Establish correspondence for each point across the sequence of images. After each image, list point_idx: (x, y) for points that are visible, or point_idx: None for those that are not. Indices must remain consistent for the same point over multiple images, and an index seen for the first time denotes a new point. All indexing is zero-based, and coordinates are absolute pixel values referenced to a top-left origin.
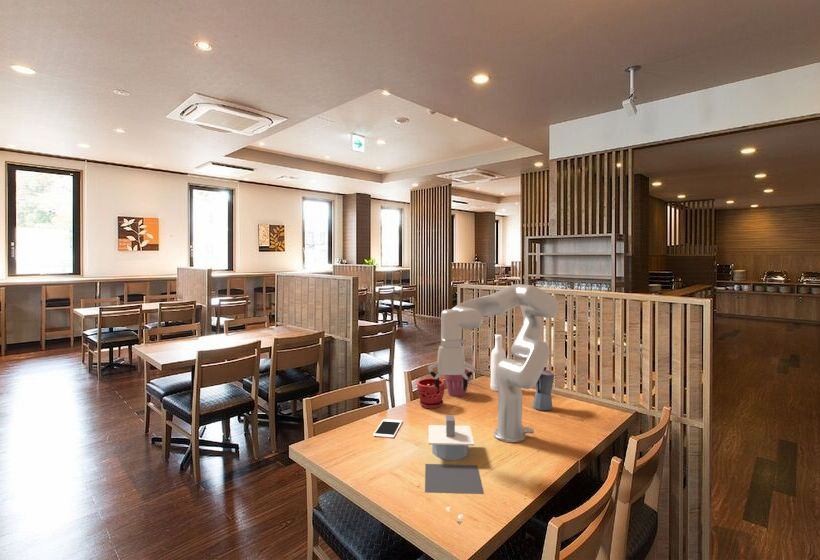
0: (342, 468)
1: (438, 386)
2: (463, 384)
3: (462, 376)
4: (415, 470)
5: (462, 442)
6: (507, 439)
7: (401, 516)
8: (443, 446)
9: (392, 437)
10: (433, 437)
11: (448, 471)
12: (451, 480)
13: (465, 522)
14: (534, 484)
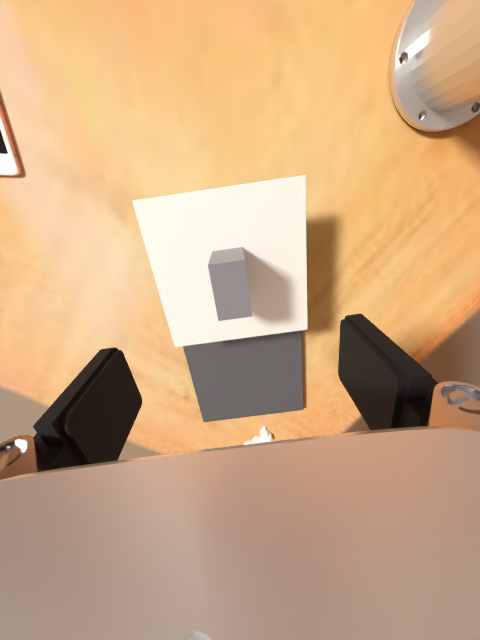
0: (8, 370)
1: (127, 427)
2: (359, 403)
3: None
4: (164, 350)
5: (273, 327)
6: (428, 127)
7: None
8: None
9: (15, 174)
10: (180, 310)
11: (236, 356)
12: (245, 384)
13: None
14: None
